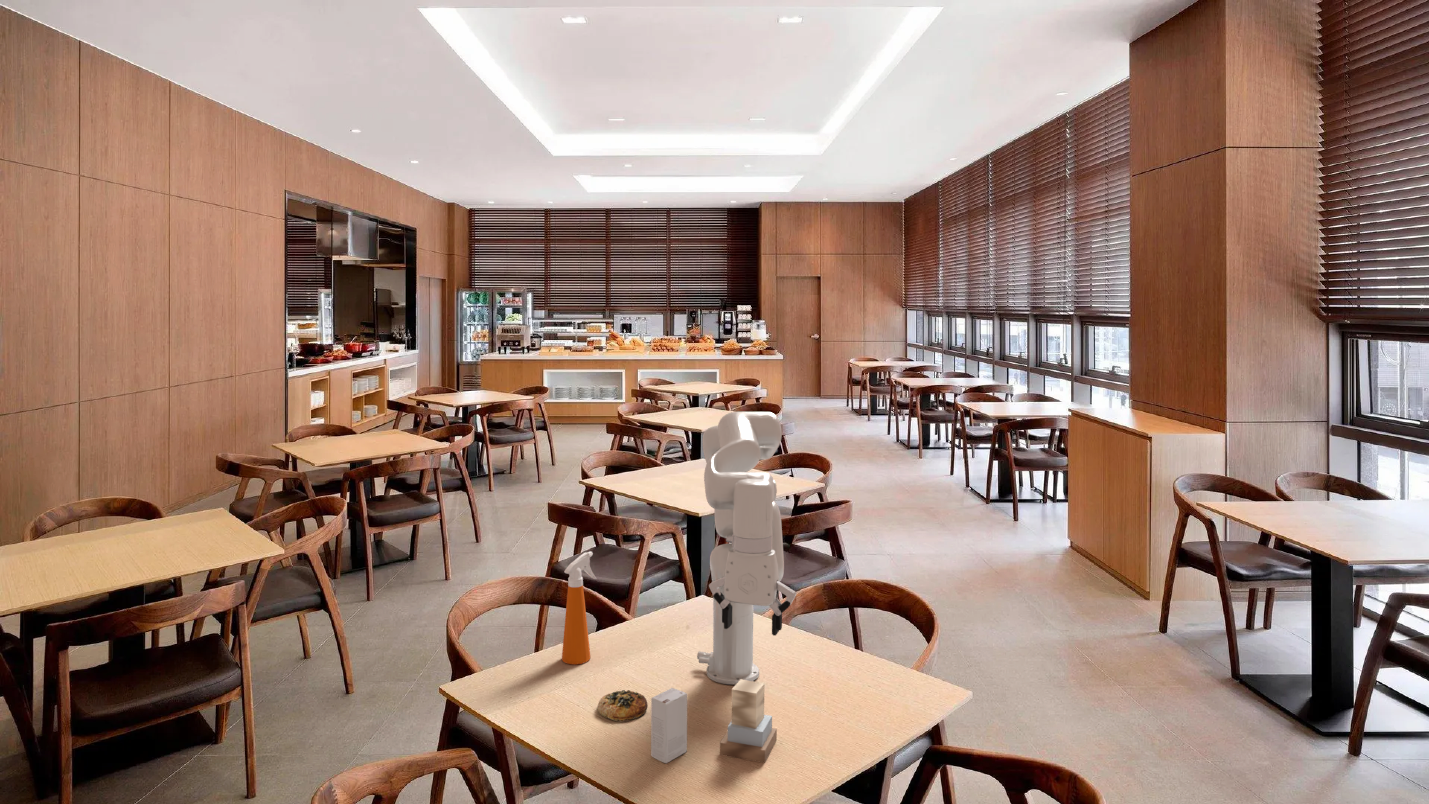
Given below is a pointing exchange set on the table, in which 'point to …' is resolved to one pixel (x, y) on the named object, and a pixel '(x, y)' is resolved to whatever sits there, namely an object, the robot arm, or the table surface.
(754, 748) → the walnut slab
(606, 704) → the bread roll
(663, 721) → the skincare box
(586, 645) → the spray bottle
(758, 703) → the beech block
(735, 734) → the grey slab
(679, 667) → the table surface
